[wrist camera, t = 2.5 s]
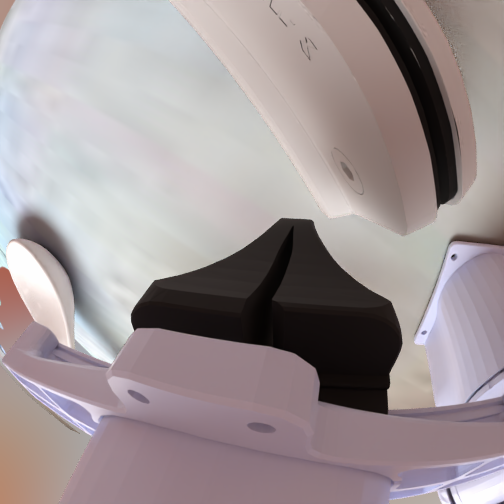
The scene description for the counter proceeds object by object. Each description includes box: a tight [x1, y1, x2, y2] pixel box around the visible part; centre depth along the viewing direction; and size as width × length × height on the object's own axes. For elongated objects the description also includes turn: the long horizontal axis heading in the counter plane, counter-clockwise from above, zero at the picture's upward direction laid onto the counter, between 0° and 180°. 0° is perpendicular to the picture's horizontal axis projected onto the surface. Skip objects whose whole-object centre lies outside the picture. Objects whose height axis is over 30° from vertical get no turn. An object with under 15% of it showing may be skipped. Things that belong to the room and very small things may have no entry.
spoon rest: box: [6, 239, 75, 350], centre depth 27 cm, size 24×12×7 cm, turn 25°
